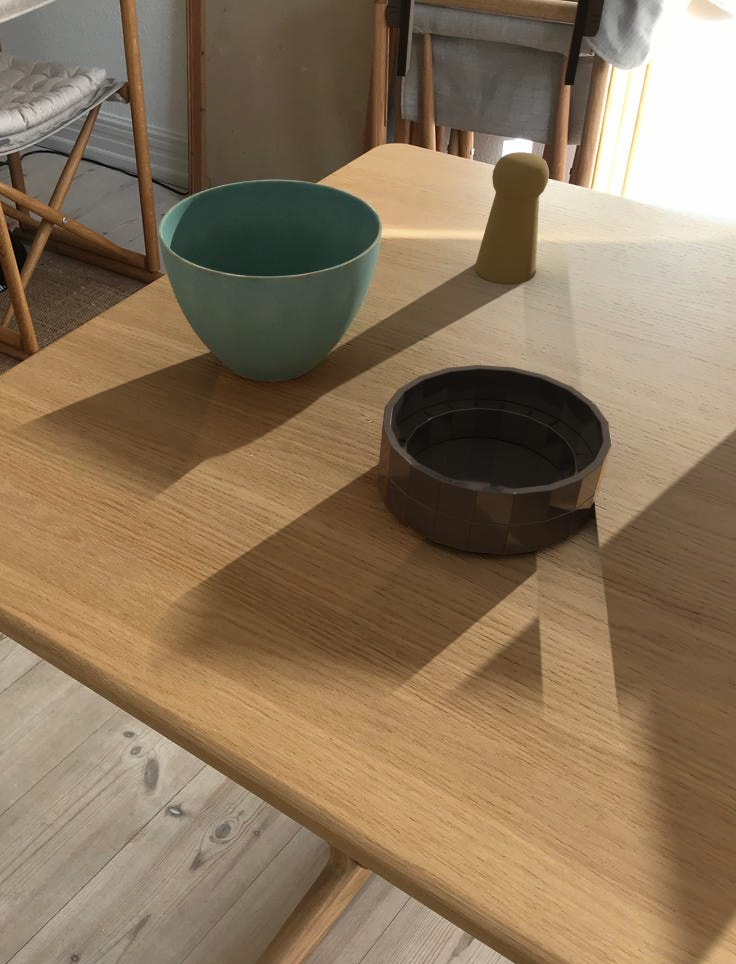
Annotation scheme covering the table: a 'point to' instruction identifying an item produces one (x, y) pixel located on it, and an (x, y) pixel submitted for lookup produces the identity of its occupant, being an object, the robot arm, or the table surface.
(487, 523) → the bowl
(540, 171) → the yellow pawn
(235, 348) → the teal green deep bowl
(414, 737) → the table surface
